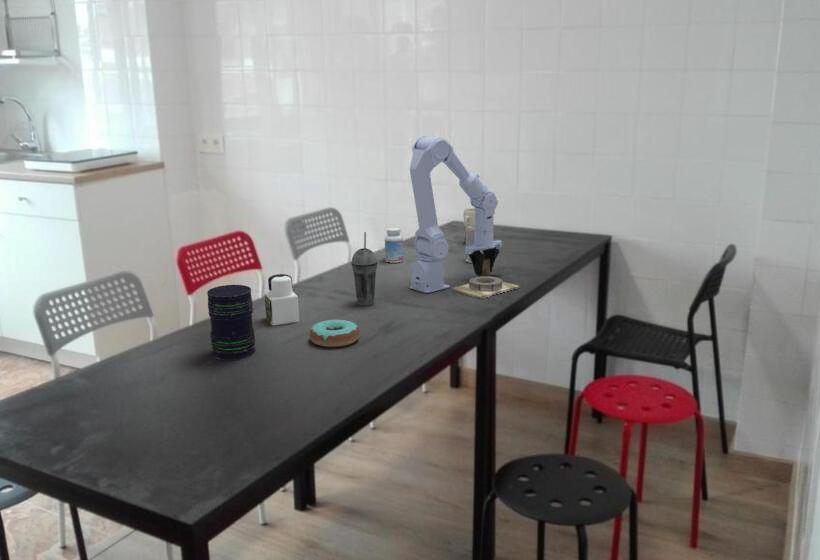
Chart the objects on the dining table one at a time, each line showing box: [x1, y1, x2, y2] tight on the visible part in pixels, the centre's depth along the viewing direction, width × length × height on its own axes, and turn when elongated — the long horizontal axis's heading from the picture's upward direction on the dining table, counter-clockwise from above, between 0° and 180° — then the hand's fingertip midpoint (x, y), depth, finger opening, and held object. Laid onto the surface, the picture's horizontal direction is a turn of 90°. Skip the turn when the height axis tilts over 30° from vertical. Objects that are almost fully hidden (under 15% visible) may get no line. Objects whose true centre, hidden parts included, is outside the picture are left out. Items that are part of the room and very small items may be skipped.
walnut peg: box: [476, 258, 491, 277], centre depth 235 cm, size 4×4×6 cm
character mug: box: [463, 207, 475, 245], centre depth 280 cm, size 11×7×13 cm, turn 144°
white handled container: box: [264, 273, 300, 327], centre depth 196 cm, size 7×7×12 cm
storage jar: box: [206, 284, 256, 361], centre depth 173 cm, size 10×10×15 cm
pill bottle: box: [384, 227, 404, 264], centre depth 257 cm, size 6×6×11 cm
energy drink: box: [465, 225, 483, 264], centre depth 255 cm, size 5×5×12 cm
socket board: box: [451, 275, 520, 300], centre depth 223 cm, size 16×12×3 cm
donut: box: [309, 319, 360, 348], centre depth 182 cm, size 12×12×4 cm
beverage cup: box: [350, 231, 378, 307], centre depth 209 cm, size 7×7×20 cm
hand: (483, 273), depth 235 cm, fingers closed on walnut peg, 4 cm apart
